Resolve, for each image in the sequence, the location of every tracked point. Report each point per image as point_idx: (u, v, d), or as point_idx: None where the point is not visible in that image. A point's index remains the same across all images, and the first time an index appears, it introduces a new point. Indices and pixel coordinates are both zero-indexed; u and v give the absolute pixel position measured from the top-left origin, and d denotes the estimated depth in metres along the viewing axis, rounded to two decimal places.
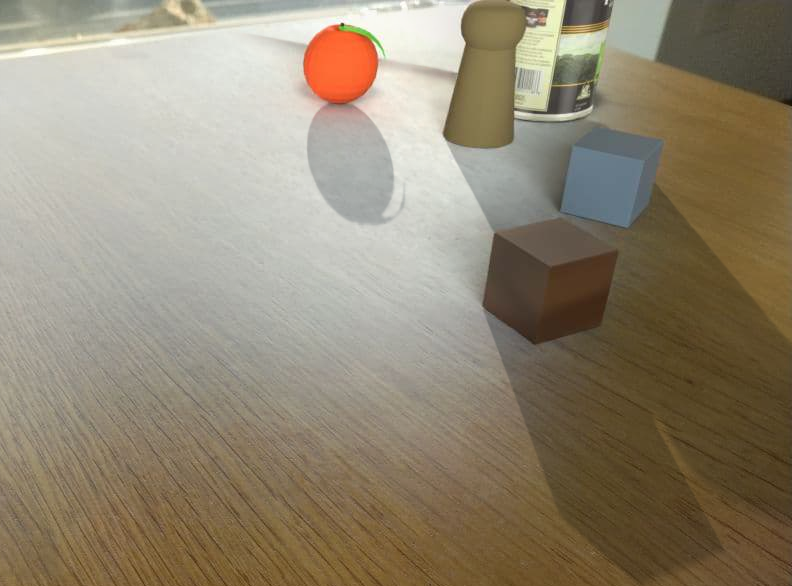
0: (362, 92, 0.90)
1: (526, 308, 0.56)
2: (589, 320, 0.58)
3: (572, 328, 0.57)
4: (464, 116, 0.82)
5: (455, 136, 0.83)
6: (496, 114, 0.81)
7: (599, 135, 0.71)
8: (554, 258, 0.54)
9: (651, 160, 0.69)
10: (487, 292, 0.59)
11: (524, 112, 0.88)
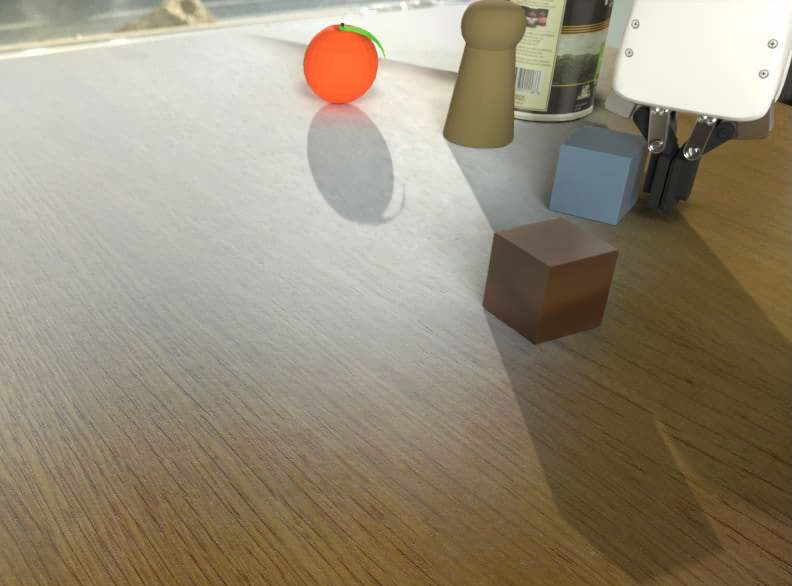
0: (362, 92, 0.90)
1: (526, 308, 0.56)
2: (589, 320, 0.58)
3: (572, 328, 0.57)
4: (464, 116, 0.82)
5: (455, 136, 0.83)
6: (496, 114, 0.81)
7: (587, 133, 0.71)
8: (554, 258, 0.54)
9: (639, 158, 0.69)
10: (487, 292, 0.59)
11: (524, 112, 0.88)
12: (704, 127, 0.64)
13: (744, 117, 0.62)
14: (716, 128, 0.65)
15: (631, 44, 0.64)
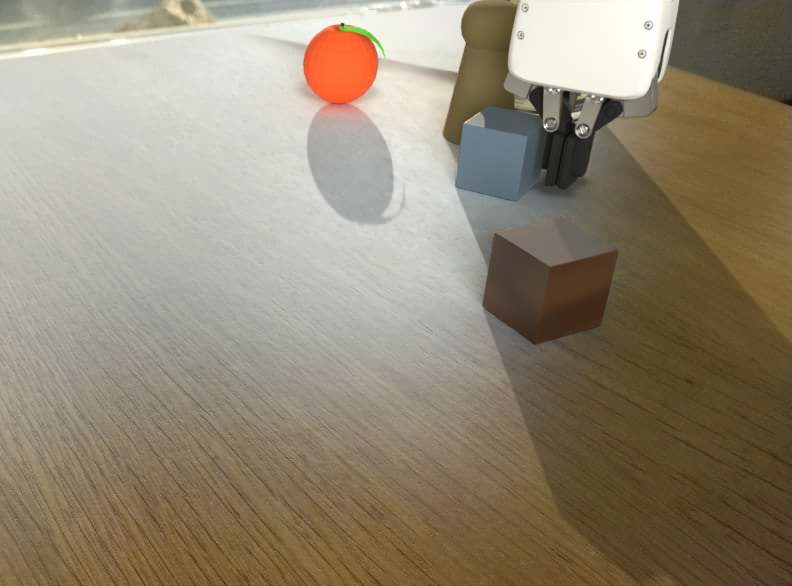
0: (362, 92, 0.90)
1: (526, 308, 0.56)
2: (589, 320, 0.58)
3: (572, 328, 0.57)
4: (464, 116, 0.82)
5: (455, 136, 0.83)
6: None
7: (490, 113, 0.74)
8: (554, 258, 0.54)
9: (537, 136, 0.72)
10: (487, 292, 0.59)
11: (524, 112, 0.88)
12: (593, 106, 0.68)
13: (627, 95, 0.66)
14: (604, 107, 0.68)
15: (522, 27, 0.67)
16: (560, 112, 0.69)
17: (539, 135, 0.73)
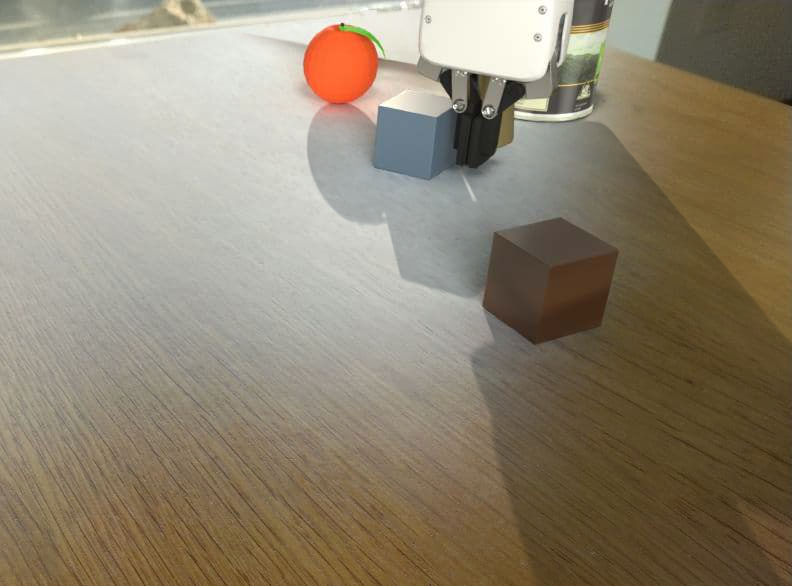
0: (362, 92, 0.90)
1: (526, 308, 0.56)
2: (589, 320, 0.58)
3: (572, 328, 0.57)
4: None
5: None
6: None
7: (406, 96, 0.78)
8: (554, 258, 0.54)
9: (448, 118, 0.76)
10: (487, 292, 0.59)
11: (524, 112, 0.88)
12: (496, 87, 0.71)
13: (526, 77, 0.69)
14: (508, 89, 0.71)
15: (429, 11, 0.70)
16: (468, 94, 0.73)
17: (451, 117, 0.76)
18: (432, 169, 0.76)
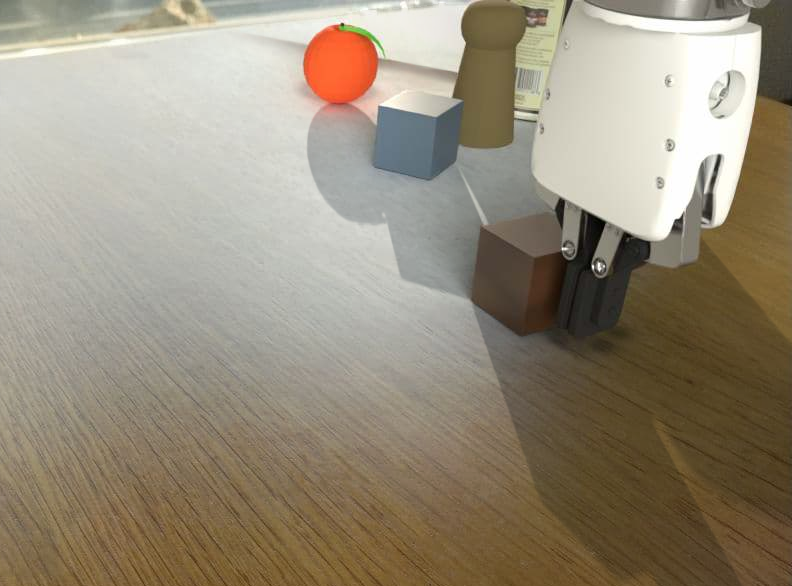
0: (362, 92, 0.90)
1: (512, 300, 0.57)
2: None
3: None
4: (464, 116, 0.82)
5: None
6: (496, 114, 0.81)
7: (406, 96, 0.78)
8: (538, 250, 0.55)
9: (448, 118, 0.76)
10: (475, 286, 0.60)
11: (524, 112, 0.88)
12: (611, 238, 0.50)
13: (641, 235, 0.48)
14: (628, 243, 0.50)
15: (543, 118, 0.51)
16: (580, 237, 0.52)
17: (451, 117, 0.76)
18: (432, 169, 0.76)
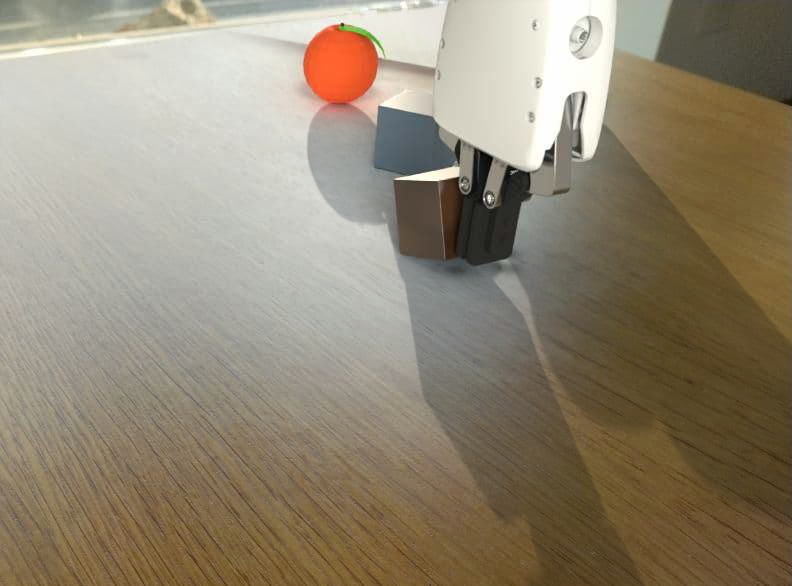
0: (362, 92, 0.90)
1: (430, 231, 0.62)
2: None
3: None
4: None
5: None
6: None
7: (406, 96, 0.78)
8: (443, 178, 0.61)
9: None
10: (400, 237, 0.65)
11: None
12: (497, 172, 0.56)
13: (518, 165, 0.54)
14: (512, 176, 0.56)
15: (439, 65, 0.57)
16: (474, 173, 0.59)
17: None
18: (432, 169, 0.76)
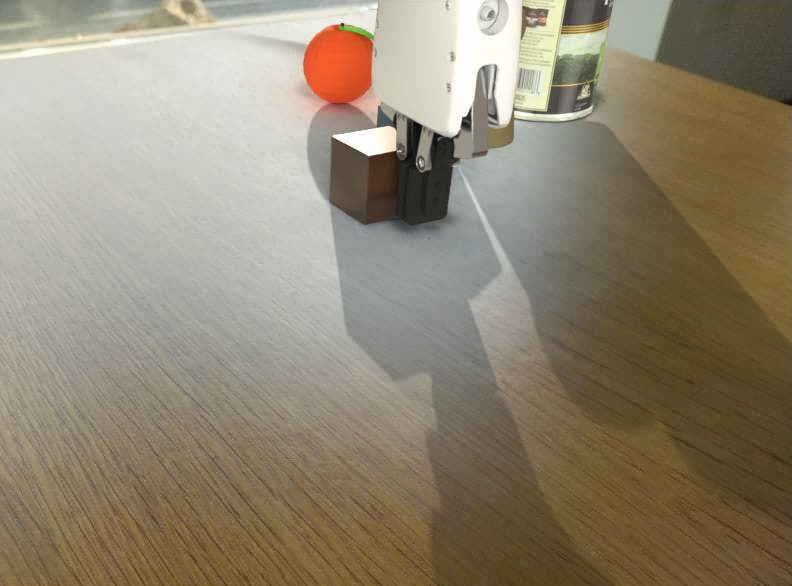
0: (362, 92, 0.90)
1: (357, 195, 0.69)
2: None
3: None
4: None
5: None
6: None
7: None
8: (374, 151, 0.67)
9: None
10: (331, 188, 0.72)
11: (524, 112, 0.88)
12: (426, 138, 0.63)
13: (440, 131, 0.60)
14: (439, 142, 0.63)
15: (375, 44, 0.64)
16: (408, 140, 0.65)
17: None
18: None
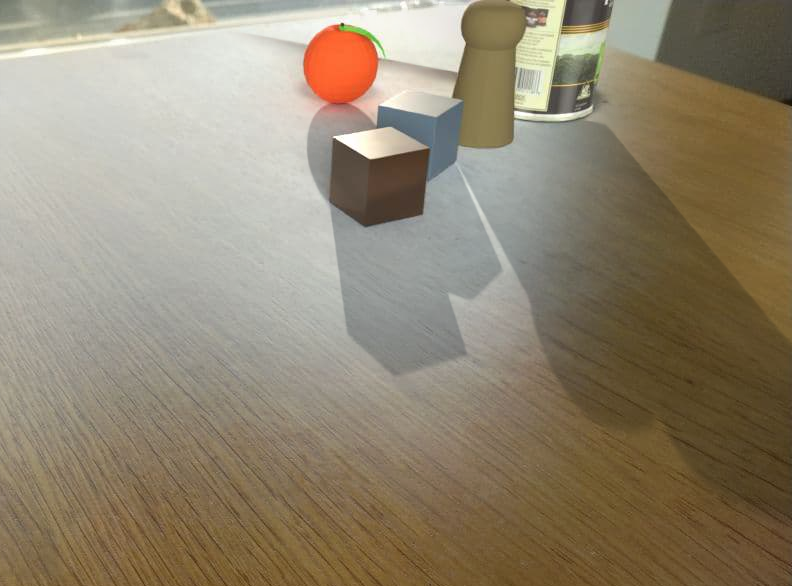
0: (362, 92, 0.90)
1: (357, 197, 0.69)
2: (411, 209, 0.71)
3: (397, 215, 0.70)
4: (464, 116, 0.82)
5: None
6: (496, 114, 0.81)
7: (406, 96, 0.78)
8: (375, 154, 0.67)
9: (448, 118, 0.76)
10: (331, 188, 0.72)
11: (524, 112, 0.88)
12: None
13: None
14: None
15: None
16: None
17: (451, 117, 0.76)
18: (432, 169, 0.76)
